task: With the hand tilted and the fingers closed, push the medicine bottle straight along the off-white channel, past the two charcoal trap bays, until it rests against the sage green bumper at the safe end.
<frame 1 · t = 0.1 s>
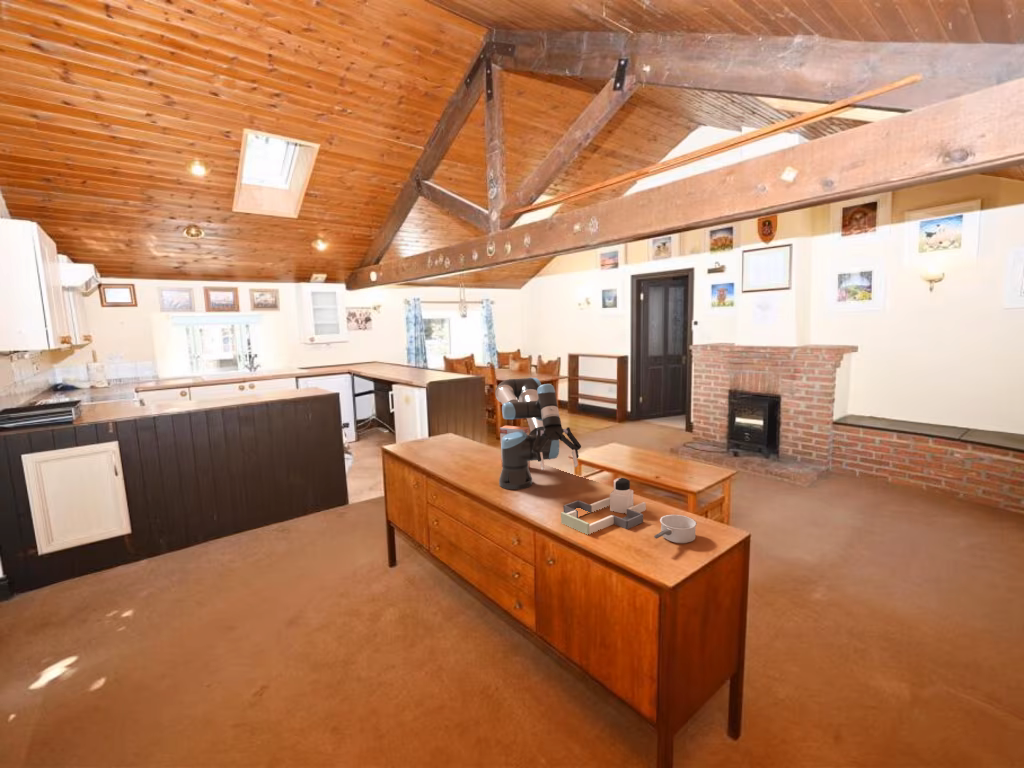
hand: (559, 467, 182), 15 cm above the sideboard, tool tilted 35°, fingers open, 13 cm apart
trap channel: (606, 515, 172), on the sideboard
saucepan: (671, 542, 150), on the sideboard
medicine bottle: (621, 510, 177), on the sideboard
safe end: (585, 524, 165), on the sideboard
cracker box: (515, 467, 236), on the sideboard
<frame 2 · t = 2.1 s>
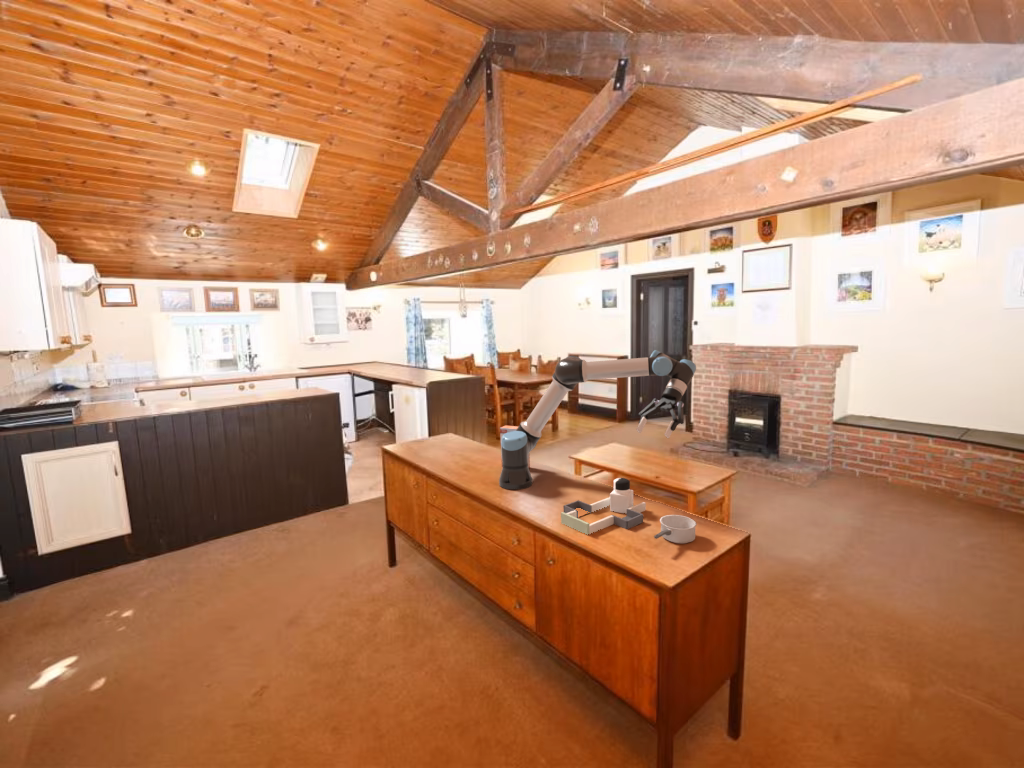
hand: (651, 433, 185), 27 cm above the sideboard, tool tilted 45°, fingers open, 13 cm apart
nothing on the sideboard moved.
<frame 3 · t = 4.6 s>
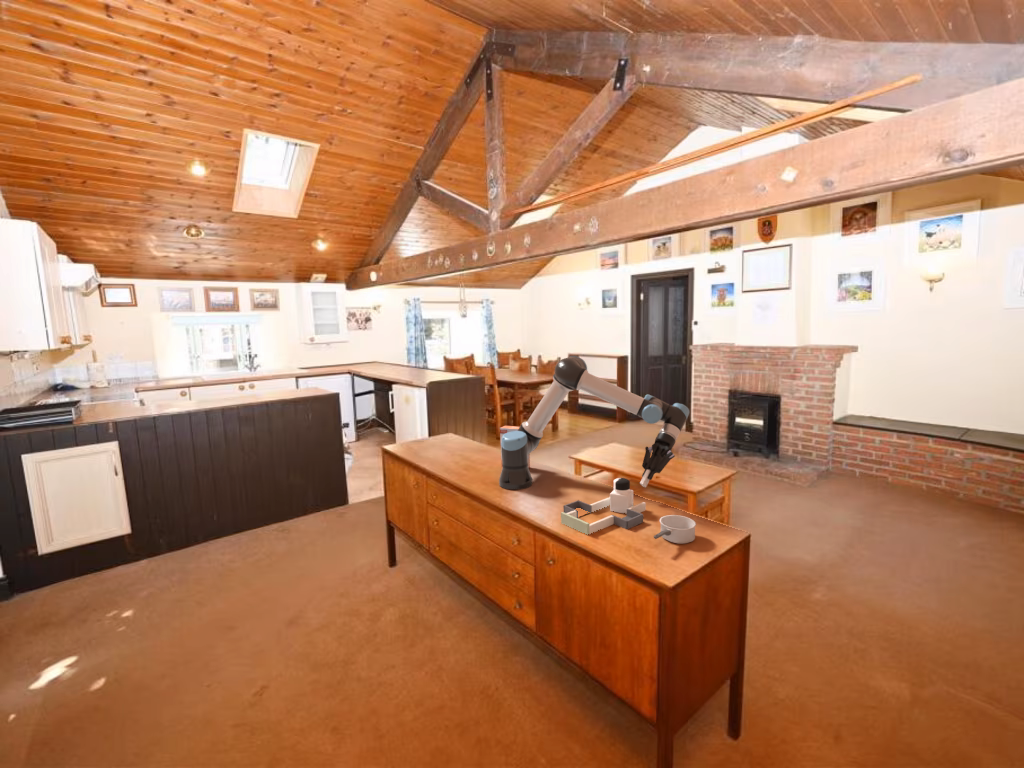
hand: (642, 485, 183), 7 cm above the sideboard, tool tilted 45°, fingers closed
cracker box: (515, 467, 236), on the sideboard, touching arm
everything else where it was.
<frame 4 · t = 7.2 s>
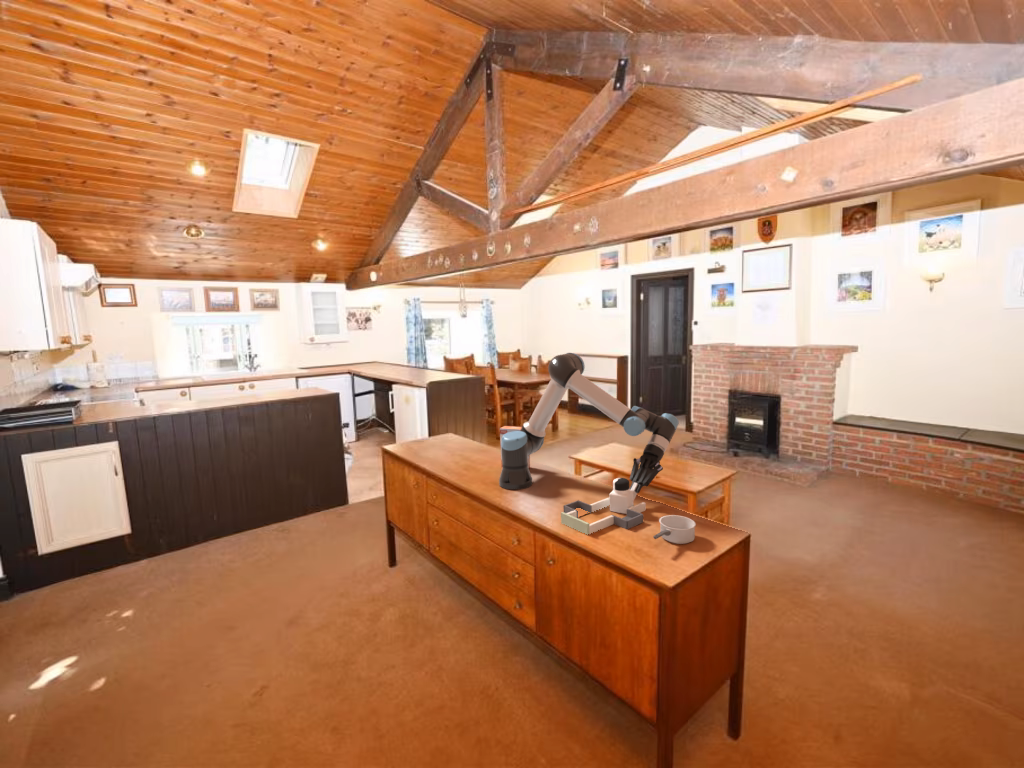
hand: (630, 498, 178), 4 cm above the sideboard, tool tilted 45°, fingers closed
medicine bottle: (621, 509, 177), on the sideboard, touching gripper
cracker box: (515, 467, 235), on the sideboard
everything else where it was.
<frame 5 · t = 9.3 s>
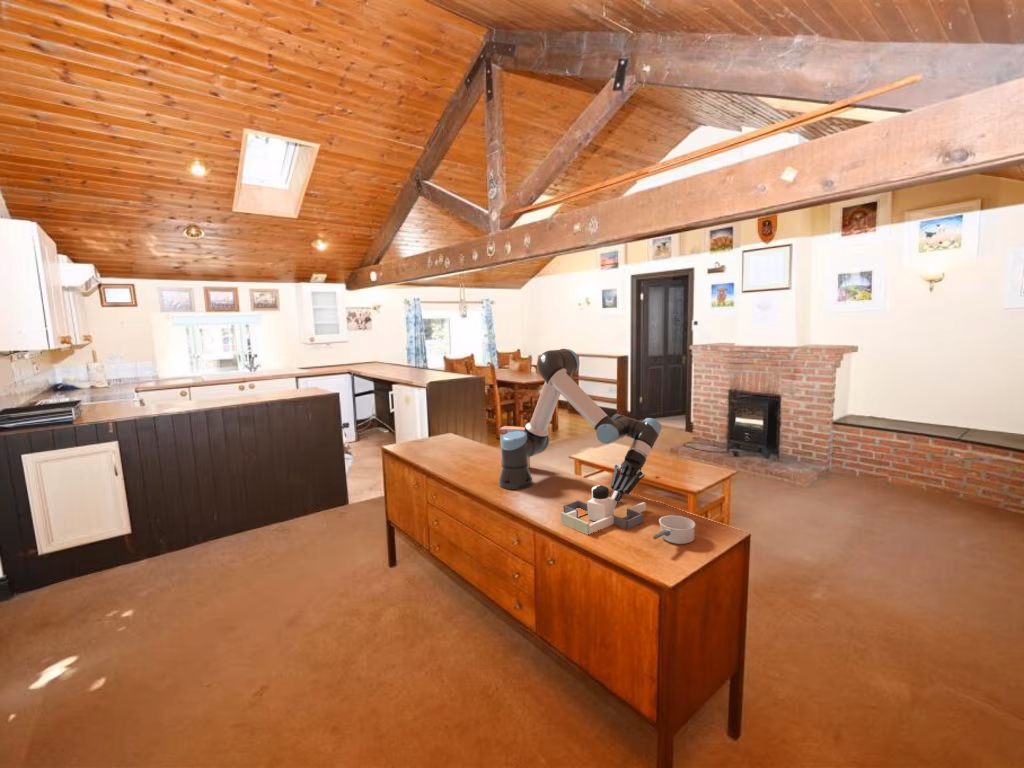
hand: (610, 507, 170), 4 cm above the sideboard, tool tilted 45°, fingers closed
medicine bottle: (600, 518, 169), on the sideboard, touching gripper
everything else where it was.
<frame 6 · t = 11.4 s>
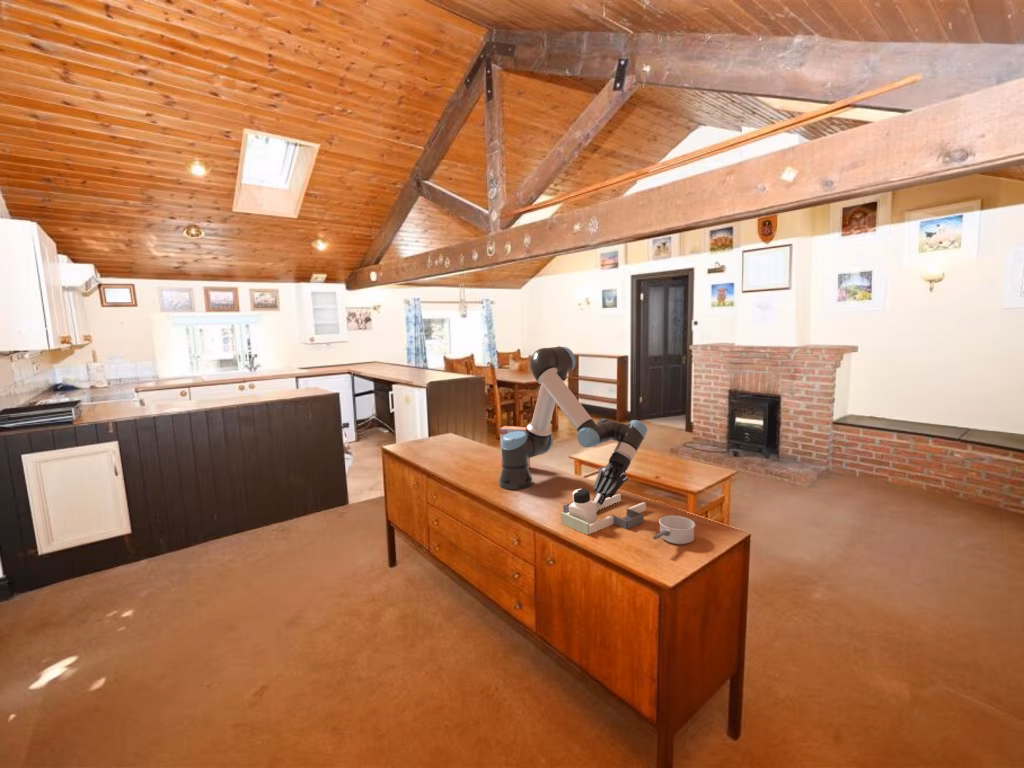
hand: (592, 510, 167), 4 cm above the sideboard, tool tilted 45°, fingers closed
medicine bottle: (583, 522, 166), on the sideboard, touching gripper
everything else where it was.
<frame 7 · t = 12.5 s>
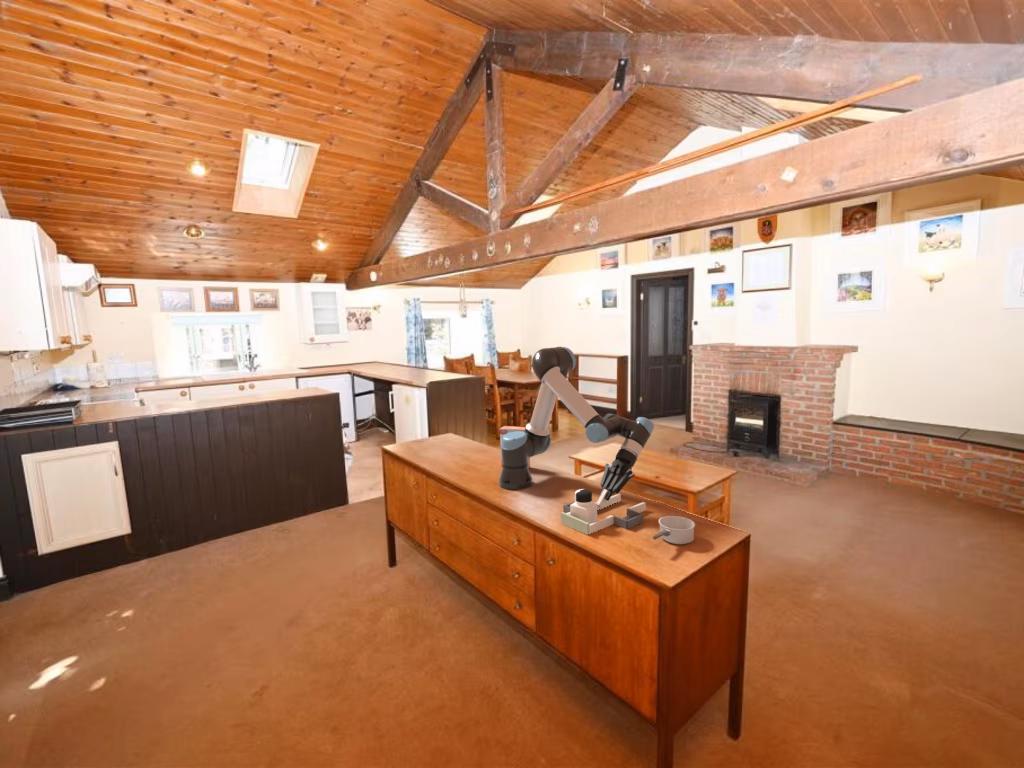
hand: (599, 506, 169), 5 cm above the sideboard, tool tilted 45°, fingers closed
medicine bottle: (584, 523, 166), on the sideboard
everything else where it was.
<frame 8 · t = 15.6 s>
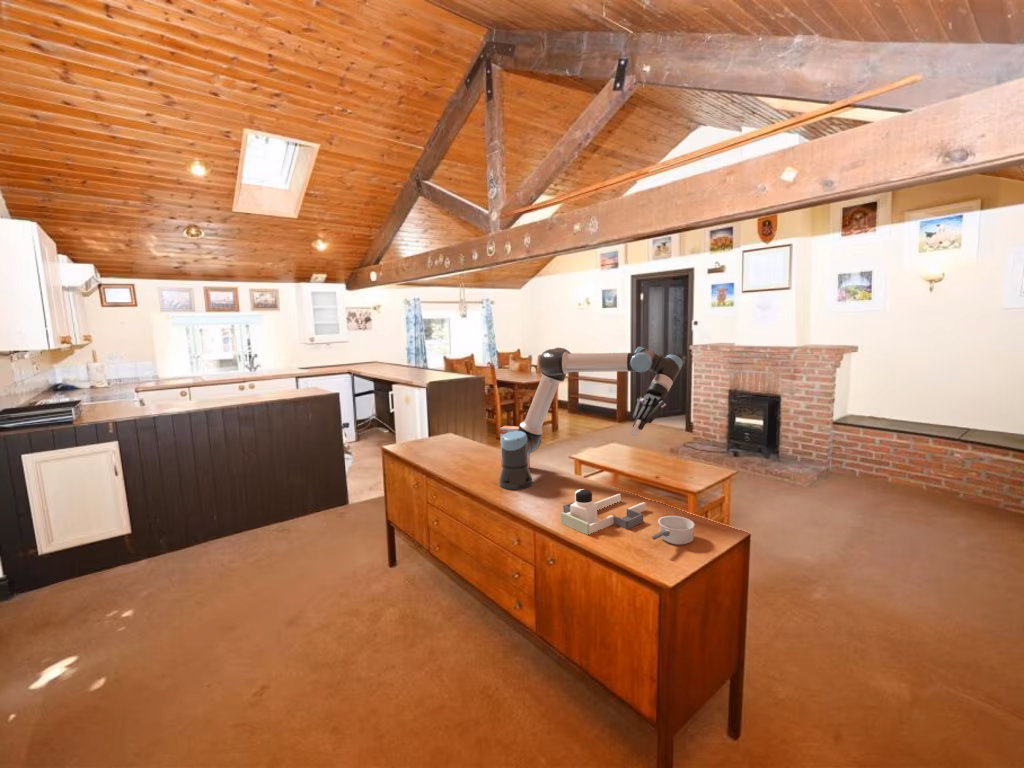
hand: (633, 435, 178), 28 cm above the sideboard, tool tilted 45°, fingers closed
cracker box: (515, 467, 235), on the sideboard, touching arm
at the end: medicine bottle 1.4 cm from the safe end (horizontally); medicine bottle tilted 0°; medicine bottle moved 19.5 cm from its start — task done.
